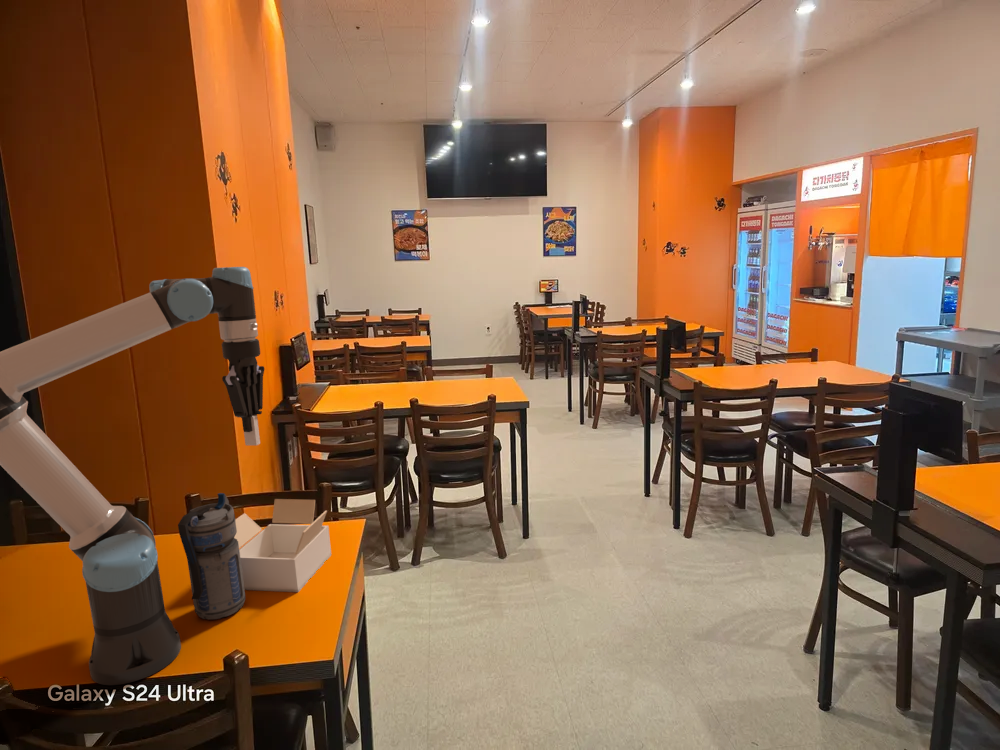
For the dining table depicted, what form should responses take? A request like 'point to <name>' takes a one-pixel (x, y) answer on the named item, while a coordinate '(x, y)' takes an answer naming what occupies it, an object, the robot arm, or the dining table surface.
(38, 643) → the dining table surface
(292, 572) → the carton
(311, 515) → the flap
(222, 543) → the beverage bottle
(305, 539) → the flap
